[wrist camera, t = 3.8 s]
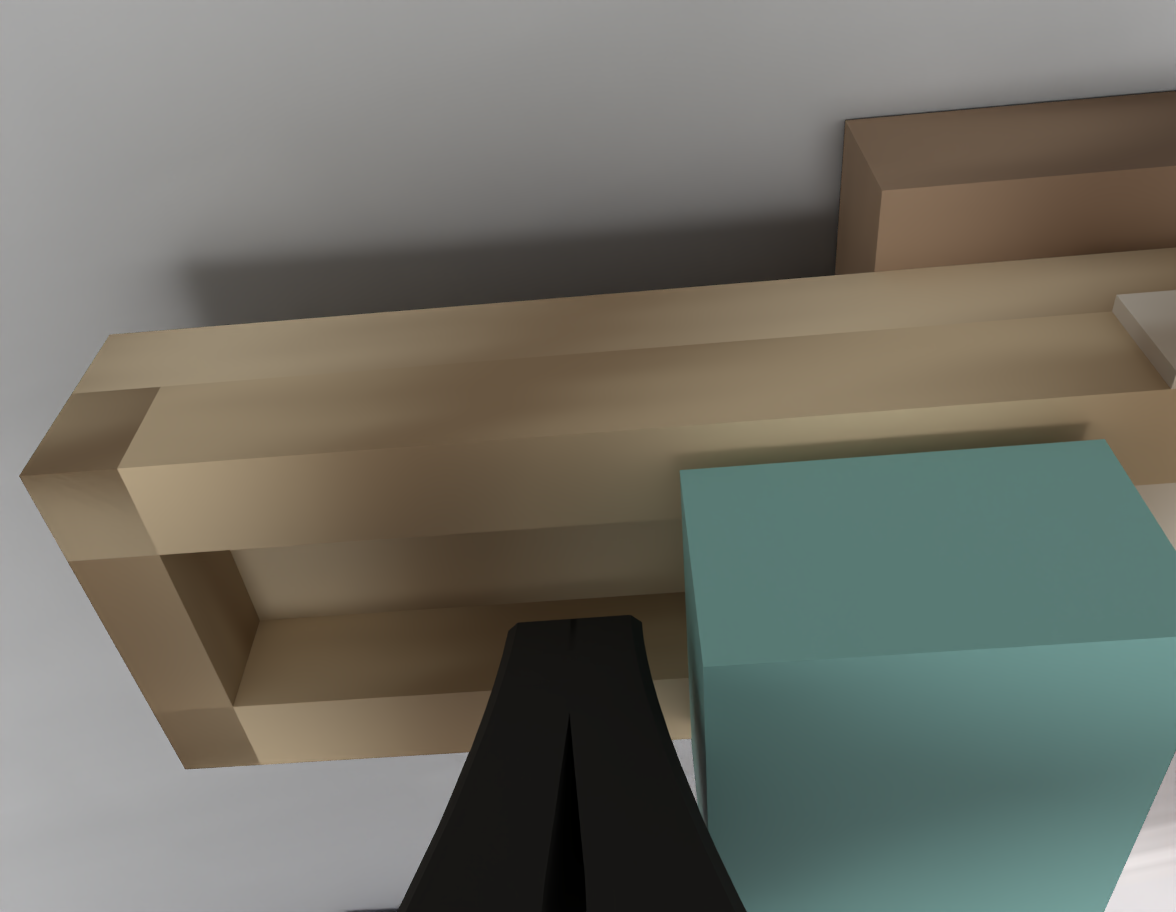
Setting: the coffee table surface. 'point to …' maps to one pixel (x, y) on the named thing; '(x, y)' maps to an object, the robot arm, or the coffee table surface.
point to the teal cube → (928, 676)
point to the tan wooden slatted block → (594, 433)
